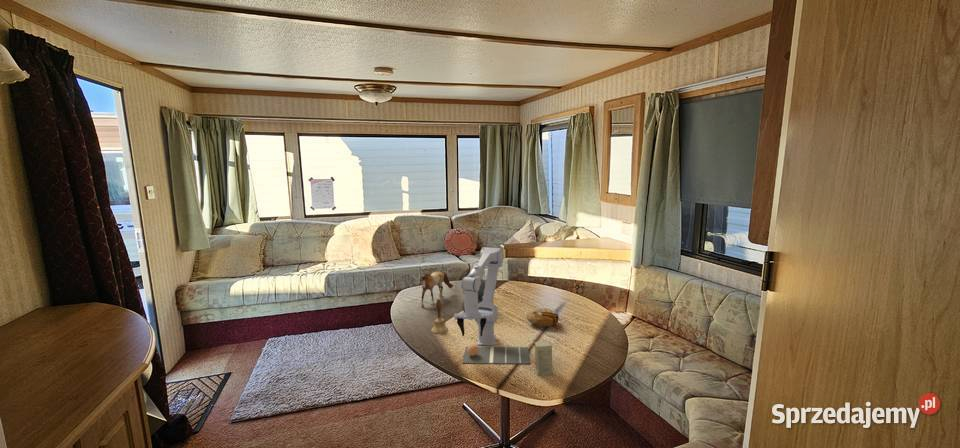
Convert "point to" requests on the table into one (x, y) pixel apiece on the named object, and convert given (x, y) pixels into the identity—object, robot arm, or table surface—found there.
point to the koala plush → (480, 294)
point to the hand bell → (439, 321)
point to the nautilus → (543, 317)
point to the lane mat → (498, 356)
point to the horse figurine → (434, 283)
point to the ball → (472, 350)
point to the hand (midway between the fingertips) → (472, 335)
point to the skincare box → (543, 358)
